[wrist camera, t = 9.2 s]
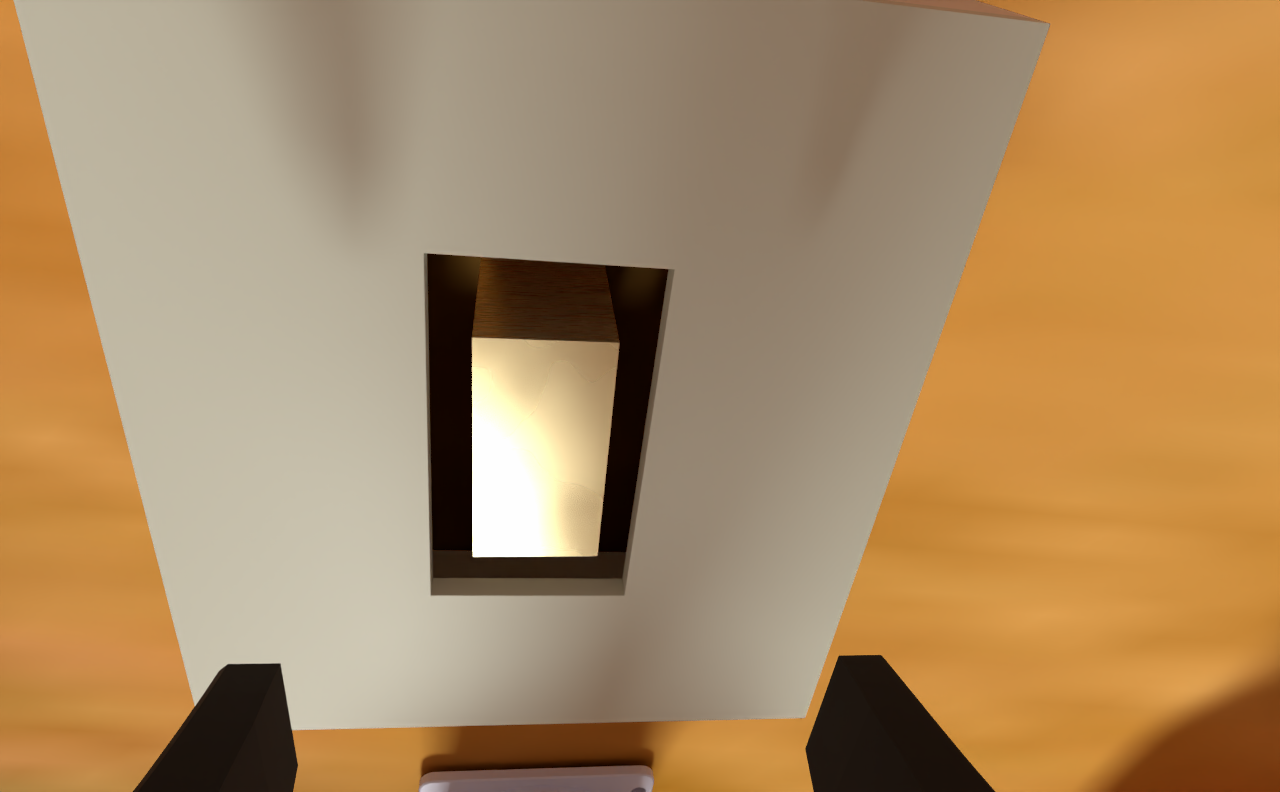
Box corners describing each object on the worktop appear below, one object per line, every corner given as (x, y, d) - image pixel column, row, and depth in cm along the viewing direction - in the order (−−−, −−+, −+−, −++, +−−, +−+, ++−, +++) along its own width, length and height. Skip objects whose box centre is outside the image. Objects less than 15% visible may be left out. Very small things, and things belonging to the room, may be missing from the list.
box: (758, 573, 25) (804, 718, 21) (261, 570, 23) (201, 732, 18) (916, -19, 16) (1050, 23, 12) (146, -117, 14) (-15, -107, 10)
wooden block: (583, 418, 21) (597, 556, 17) (483, 416, 21) (473, 556, 17) (598, 233, 18) (619, 342, 14) (484, 226, 18) (472, 337, 14)
